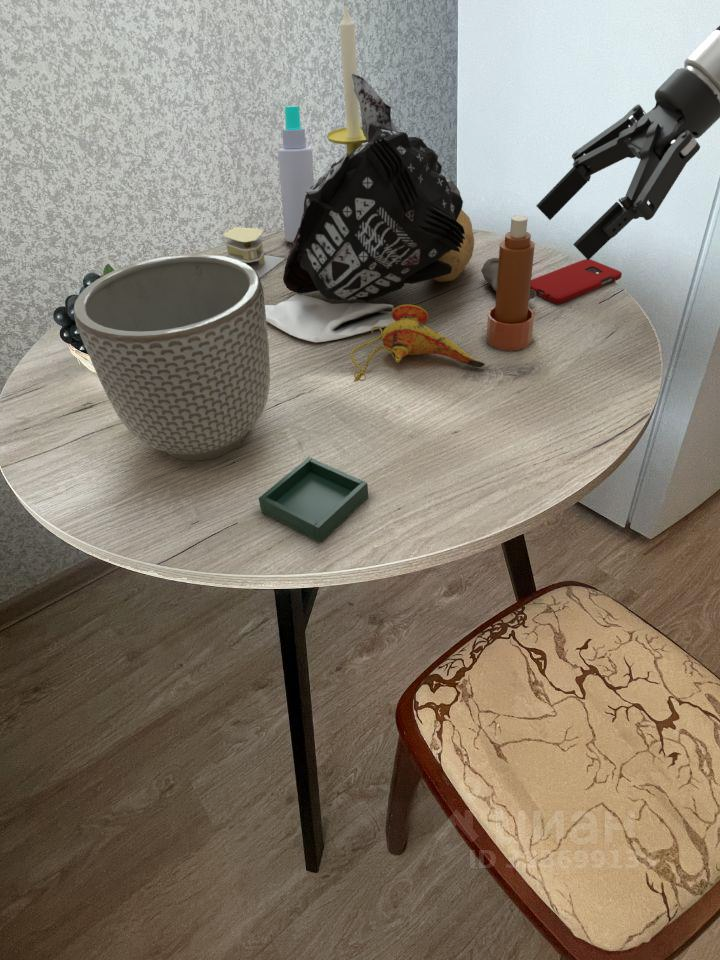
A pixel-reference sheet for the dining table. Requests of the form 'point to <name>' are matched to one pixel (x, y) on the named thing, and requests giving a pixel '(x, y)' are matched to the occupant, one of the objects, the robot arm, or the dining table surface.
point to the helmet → (375, 215)
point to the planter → (180, 350)
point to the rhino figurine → (496, 274)
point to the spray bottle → (294, 172)
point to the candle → (349, 90)
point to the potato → (460, 258)
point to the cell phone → (573, 280)
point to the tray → (314, 498)
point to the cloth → (326, 318)
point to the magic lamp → (413, 339)
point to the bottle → (514, 273)
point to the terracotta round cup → (509, 332)
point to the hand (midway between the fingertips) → (560, 231)
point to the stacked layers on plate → (250, 249)
